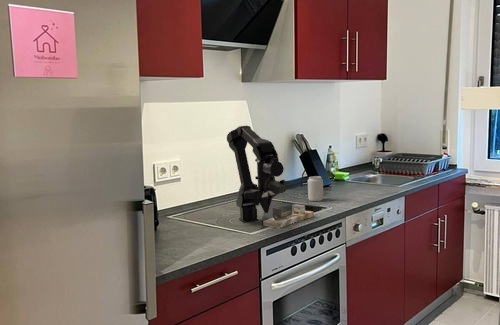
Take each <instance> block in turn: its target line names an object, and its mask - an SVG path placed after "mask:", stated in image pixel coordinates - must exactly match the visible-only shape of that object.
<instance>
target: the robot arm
mask: <svg viewBox="0 0 500 325" xmlns="http://www.w3.org/2000/svg"><path fill="white" fill-rule="evenodd" d="M226 141H227V143H228V147H229V148H230V149H231V150H232V152H233V153H234V157H235V162H236V166H237V171H238V172H237V173H238V176H239V180H240V187H239V189H238V196H237V198H236V200H235V204H236V207H238V208H239V215H240V216H239V218H238V220H239V221H241V222H243V223H249V222H255V221H259V218H258V208H257V207H258V206H259V205H260V206H261V209H262V210H263V212H264V213H265V214H268V212H269V210H270V207H271V204H272V202H273V199H274V198H275V197H276V196H277V195H279V194H284V193H285V192H286V189H287V186H288V184H287V180H285V179H281V180H276V177H281V176H282V175H283V172H284V171H285V170H284V169H285V168H284V165H283V163H282V162H280V161H279V155H278V152H277V150H276V149H275V146H274V143H273V142H272V141H270V140H268V139H265V138H262V137H260V135H259V134H257V133H256V132H255V131H254V130H253V129H252V128H251V126H250V125H239V126H237V127H236V128H235V129H232V130H231V131H229V132H228V133H227V135H226ZM248 145H250V146H251V147H252V153H253V154H254V155H255V157H256V158H255V159H254V161H255V163H256V169H257V171H256V172H257V173H256V174H257V176H254V177H255V180H257V184H256V183H254V182H253V180H252V174H251V171H250V166H249V161H248V156H247V153H246V148H247V146H248Z"/></svg>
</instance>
